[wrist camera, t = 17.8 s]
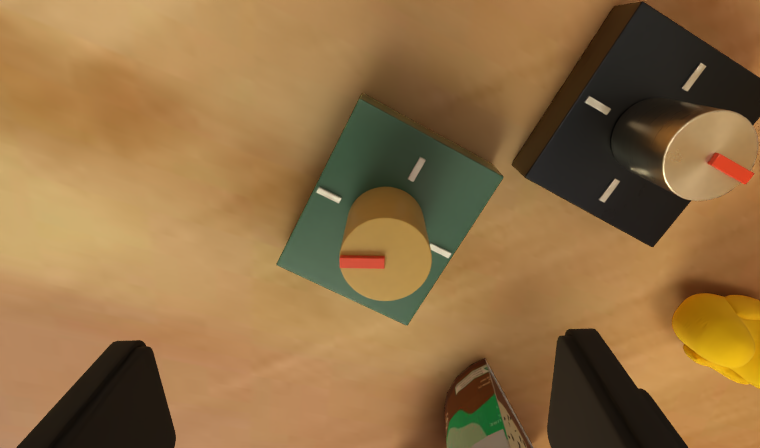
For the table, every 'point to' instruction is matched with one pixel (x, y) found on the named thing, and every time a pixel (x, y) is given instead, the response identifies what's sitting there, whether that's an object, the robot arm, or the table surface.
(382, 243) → the dial
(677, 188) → the dial
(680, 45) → the panel
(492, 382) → the food container
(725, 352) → the duckling
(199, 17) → the table surface
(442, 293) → the table surface
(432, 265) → the panel
